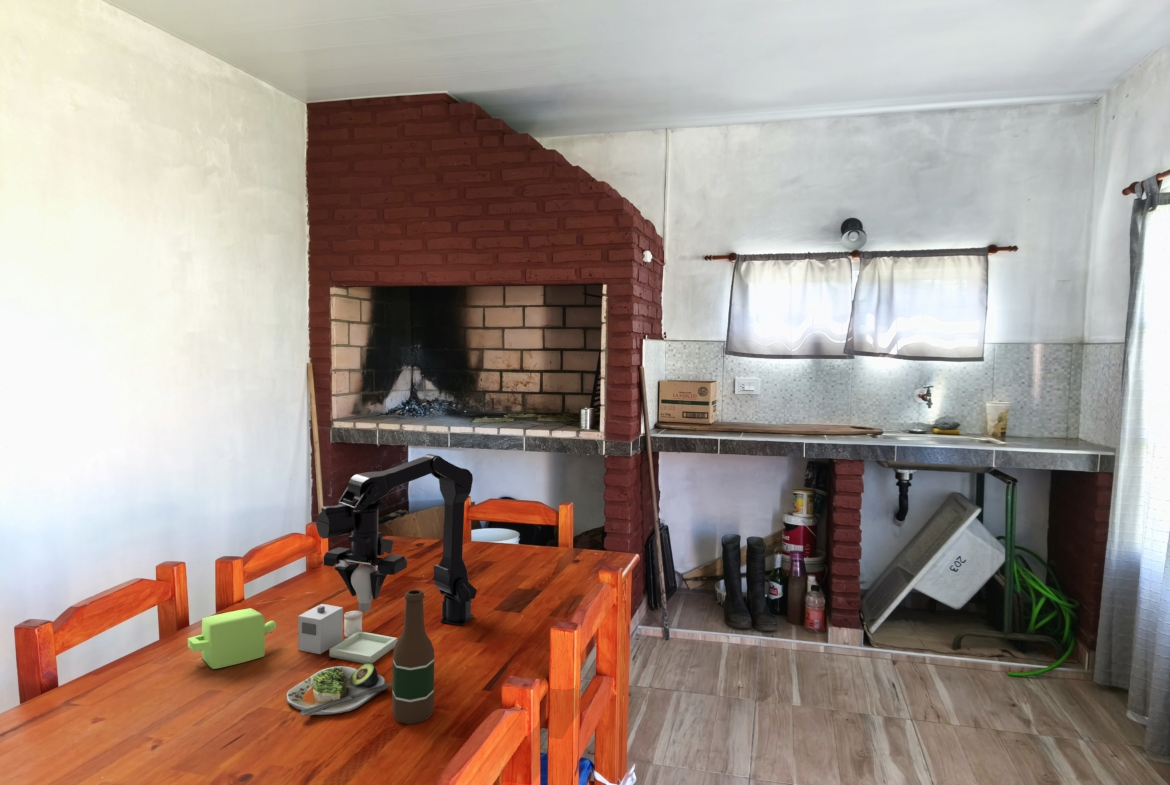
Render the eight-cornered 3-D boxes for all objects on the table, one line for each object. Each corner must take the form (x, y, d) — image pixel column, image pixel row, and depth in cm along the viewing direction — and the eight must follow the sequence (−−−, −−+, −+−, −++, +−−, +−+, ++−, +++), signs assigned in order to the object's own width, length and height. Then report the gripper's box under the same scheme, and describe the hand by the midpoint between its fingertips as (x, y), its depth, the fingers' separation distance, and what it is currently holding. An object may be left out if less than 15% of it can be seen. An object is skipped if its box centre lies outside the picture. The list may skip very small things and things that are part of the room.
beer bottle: (395, 704, 139) (397, 584, 137) (436, 703, 139) (437, 584, 138) (388, 725, 131) (389, 599, 129) (430, 725, 132) (432, 599, 130)
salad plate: (336, 734, 128) (336, 709, 128) (261, 712, 135) (261, 689, 135) (401, 687, 146) (401, 665, 146) (332, 670, 153) (332, 649, 153)
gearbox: (269, 640, 167) (269, 600, 167) (285, 652, 160) (285, 610, 160) (184, 660, 155) (184, 617, 155) (197, 674, 148) (197, 629, 148)
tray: (397, 645, 165) (397, 637, 165) (370, 664, 155) (370, 656, 155) (358, 638, 168) (358, 631, 168) (329, 656, 158) (329, 648, 158)
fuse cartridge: (365, 632, 172) (365, 611, 172) (355, 638, 168) (355, 618, 168) (351, 629, 173) (351, 609, 173) (340, 636, 170) (340, 615, 169)
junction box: (343, 639, 167) (343, 602, 167) (319, 654, 159) (319, 615, 159) (322, 635, 169) (322, 599, 169) (297, 650, 161) (297, 612, 160)
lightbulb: (370, 619, 158) (370, 570, 157) (345, 615, 159) (345, 568, 158) (383, 608, 164) (384, 562, 163) (359, 606, 165) (359, 559, 164)
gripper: (420, 526, 165) (419, 591, 166) (352, 517, 170) (351, 581, 172) (393, 538, 154) (392, 608, 155) (321, 529, 160) (321, 596, 161)
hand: (364, 597), depth 161 cm, fingers closed on lightbulb, 5 cm apart
